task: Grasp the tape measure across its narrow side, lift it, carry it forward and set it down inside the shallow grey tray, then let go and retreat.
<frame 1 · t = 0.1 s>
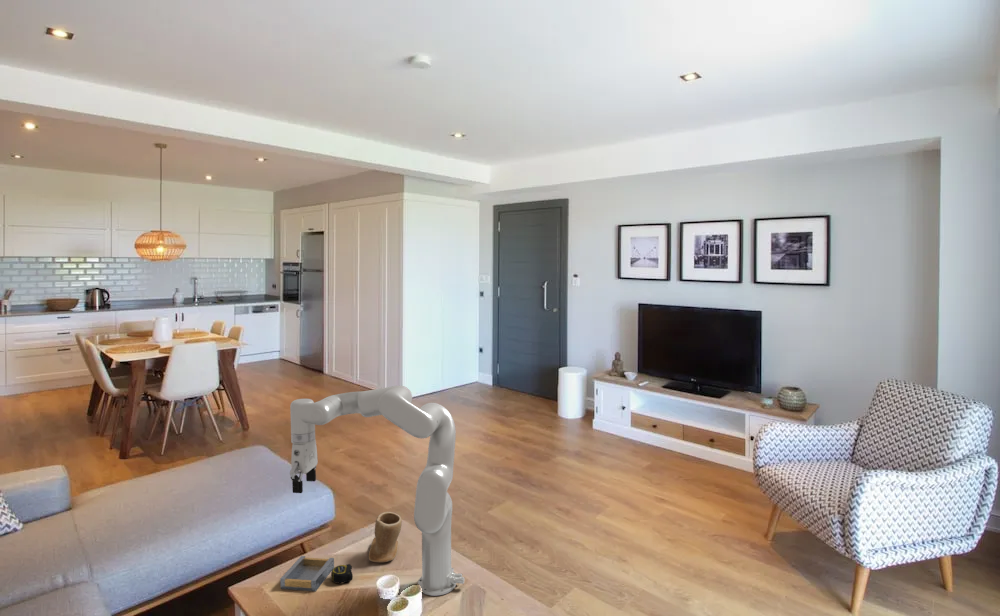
hand: (304, 486, 180), 31 cm above the table, fingers open, 9 cm apart
tape measure: (344, 579, 181), on the table
shallow grey tray: (308, 577, 181), on the table
brown boot: (386, 554, 197), on the table
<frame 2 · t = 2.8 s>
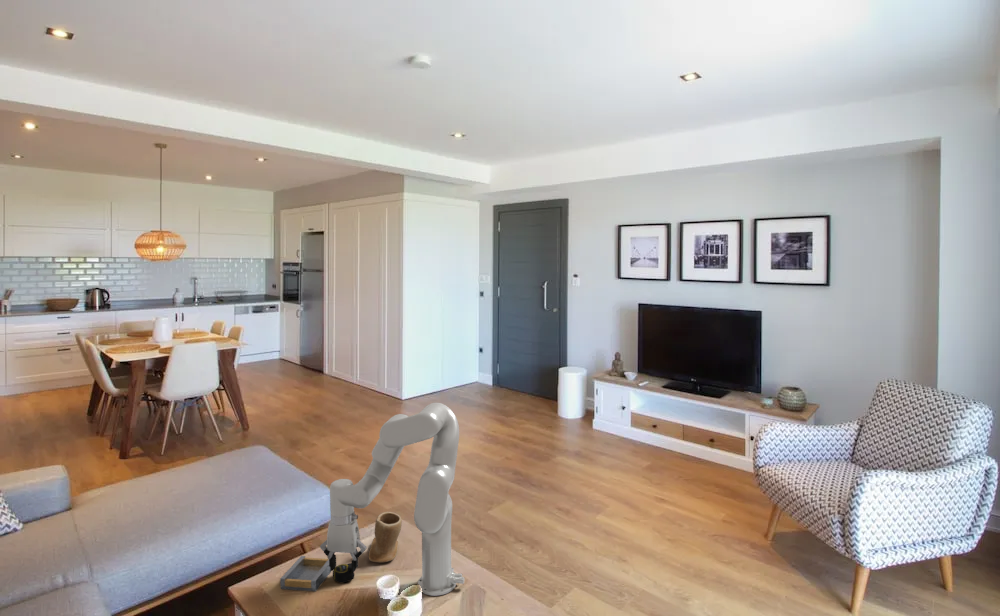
hand: (343, 568, 181), 3 cm above the table, fingers closed on tape measure, 6 cm apart
tape measure: (345, 578, 181), on the table, touching gripper
everything else where it was.
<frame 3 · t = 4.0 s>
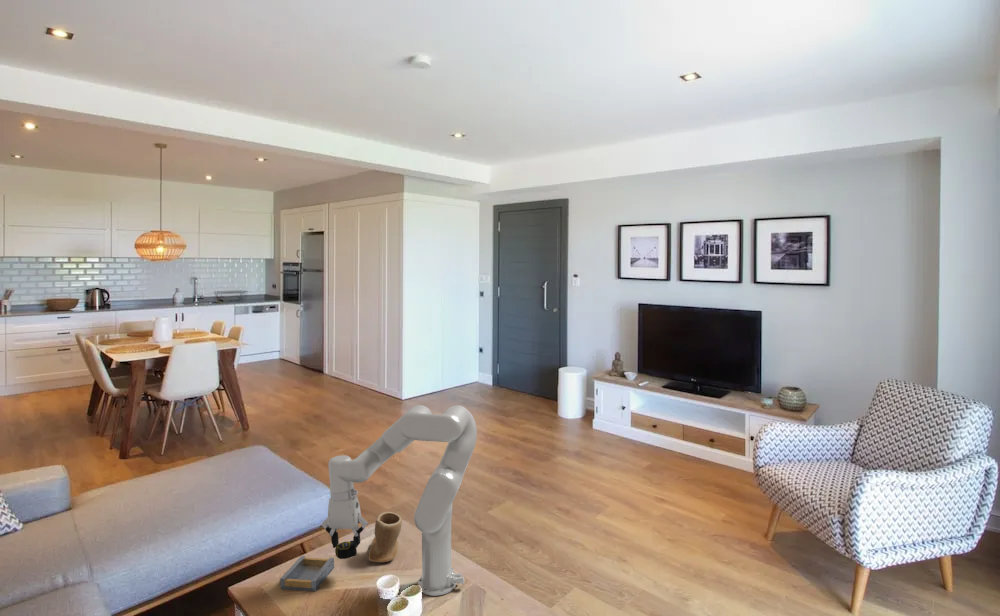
hand: (346, 545, 180), 12 cm above the table, fingers closed on tape measure, 6 cm apart
tape measure: (348, 555, 181), point 8 cm above the table, touching gripper
everything else where it was.
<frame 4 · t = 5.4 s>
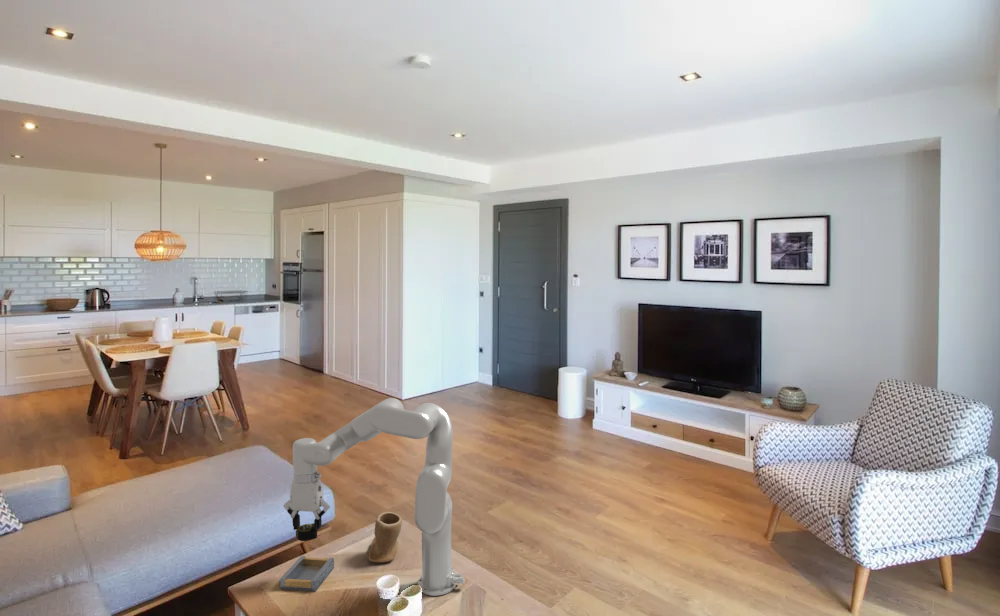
hand: (307, 528, 180), 17 cm above the table, fingers closed on tape measure, 6 cm apart
tape measure: (309, 538, 181), point 14 cm above the table, touching gripper
everything else where it was.
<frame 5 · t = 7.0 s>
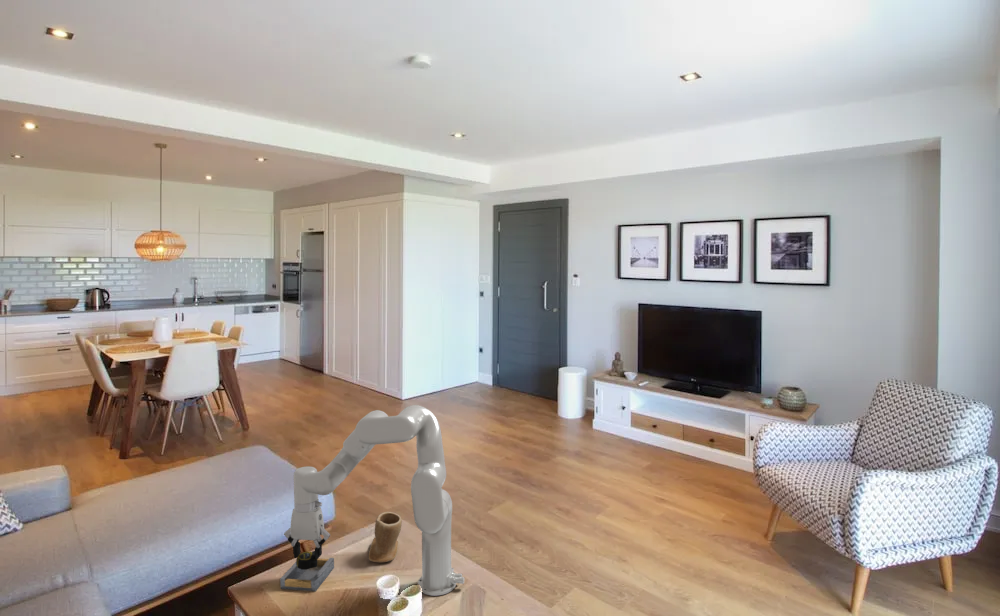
hand: (307, 556, 181), 8 cm above the table, fingers closed on tape measure, 6 cm apart
tape measure: (309, 566, 181), point 4 cm above the table, touching gripper
everything else where it was.
when the fingers open (5 cm above the table, at t = 8.1 s): tape measure stays where it is, resting on shallow grey tray.
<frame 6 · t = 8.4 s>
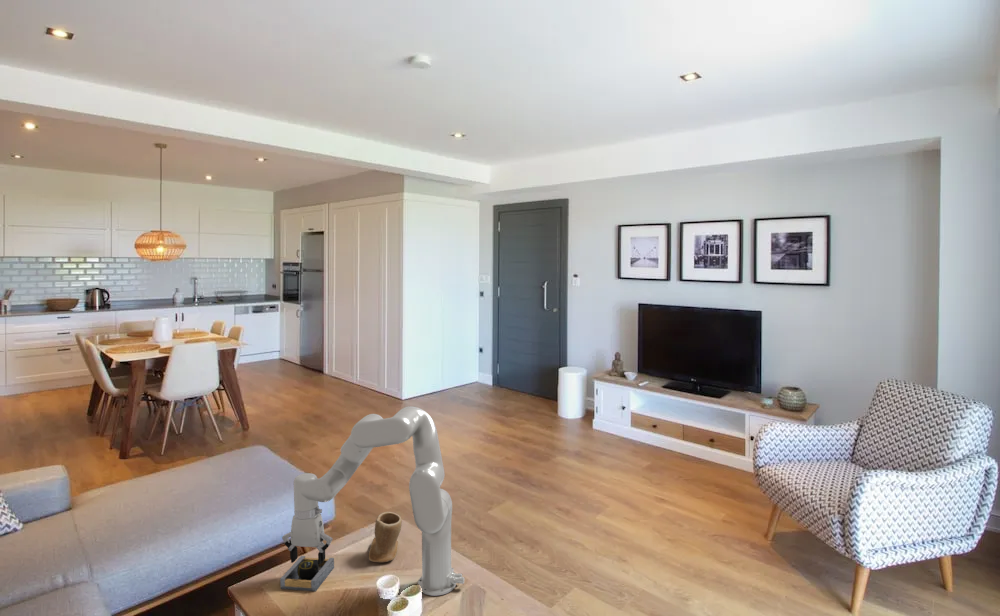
hand: (307, 561, 181), 6 cm above the table, fingers open, 9 cm apart
tape measure: (310, 575, 182), point 1 cm above the table, touching shallow grey tray
everything else where it was.
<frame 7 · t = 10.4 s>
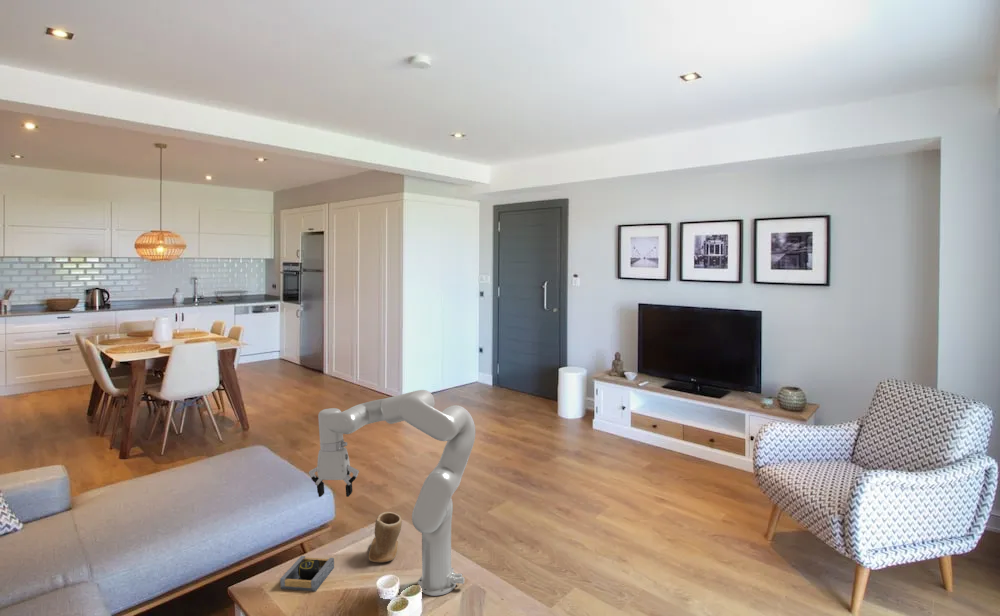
hand: (335, 495, 183), 27 cm above the table, fingers open, 9 cm apart
nothing on the table moved.
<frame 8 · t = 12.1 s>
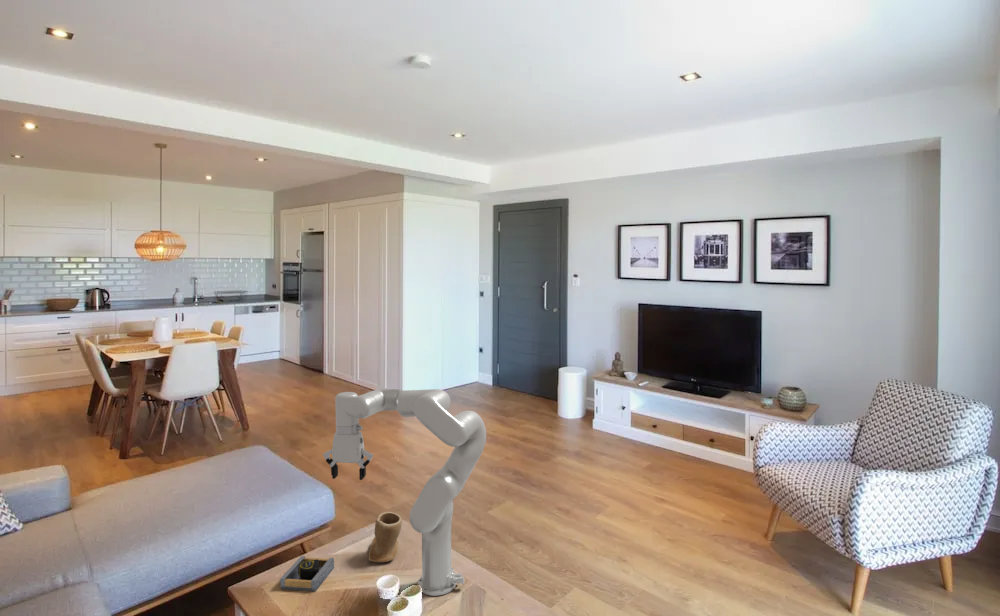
hand: (348, 477, 185), 32 cm above the table, fingers open, 9 cm apart
nothing on the table moved.
at the end: tape measure inside the target area on the shallow grey tray (1.1 cm from its centre), point 0.8 cm above the shallow grey tray's base; the gripper is holding nothing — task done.
